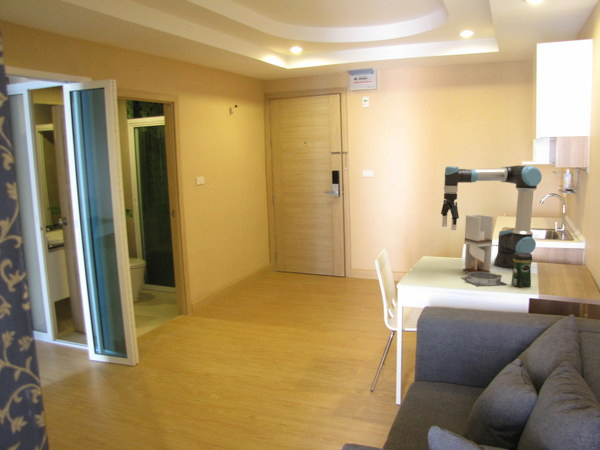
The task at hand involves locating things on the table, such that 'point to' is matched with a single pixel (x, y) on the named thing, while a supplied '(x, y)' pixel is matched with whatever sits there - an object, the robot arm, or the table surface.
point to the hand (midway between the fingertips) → (448, 228)
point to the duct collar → (483, 279)
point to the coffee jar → (522, 270)
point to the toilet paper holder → (478, 243)
